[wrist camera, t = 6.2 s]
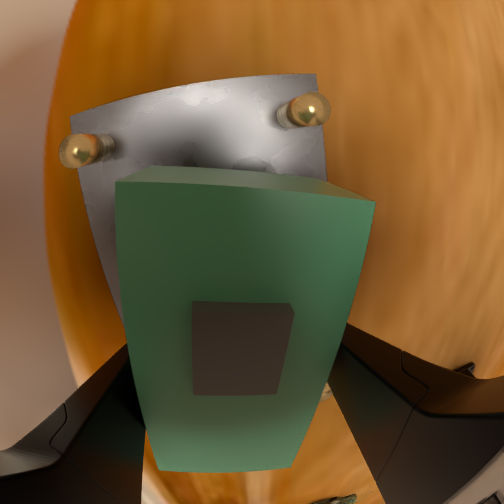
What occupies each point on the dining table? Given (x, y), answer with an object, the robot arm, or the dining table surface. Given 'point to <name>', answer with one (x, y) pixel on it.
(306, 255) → the board
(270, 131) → the chassis
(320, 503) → the frog figurine
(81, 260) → the dining table surface
